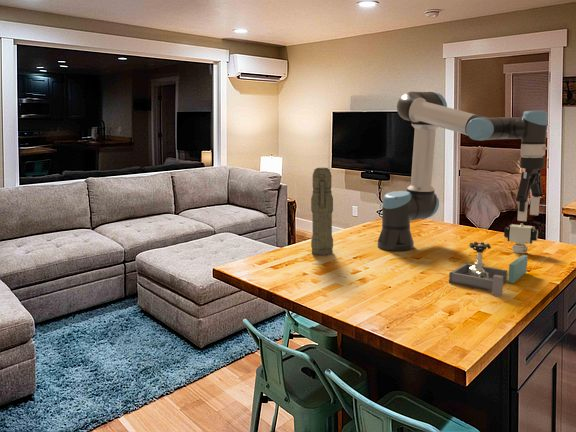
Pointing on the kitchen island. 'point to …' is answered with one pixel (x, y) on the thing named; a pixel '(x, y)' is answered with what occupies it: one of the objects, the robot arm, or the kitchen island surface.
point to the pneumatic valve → (520, 236)
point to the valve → (479, 260)
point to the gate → (517, 268)
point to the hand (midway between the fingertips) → (528, 217)
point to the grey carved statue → (322, 212)
